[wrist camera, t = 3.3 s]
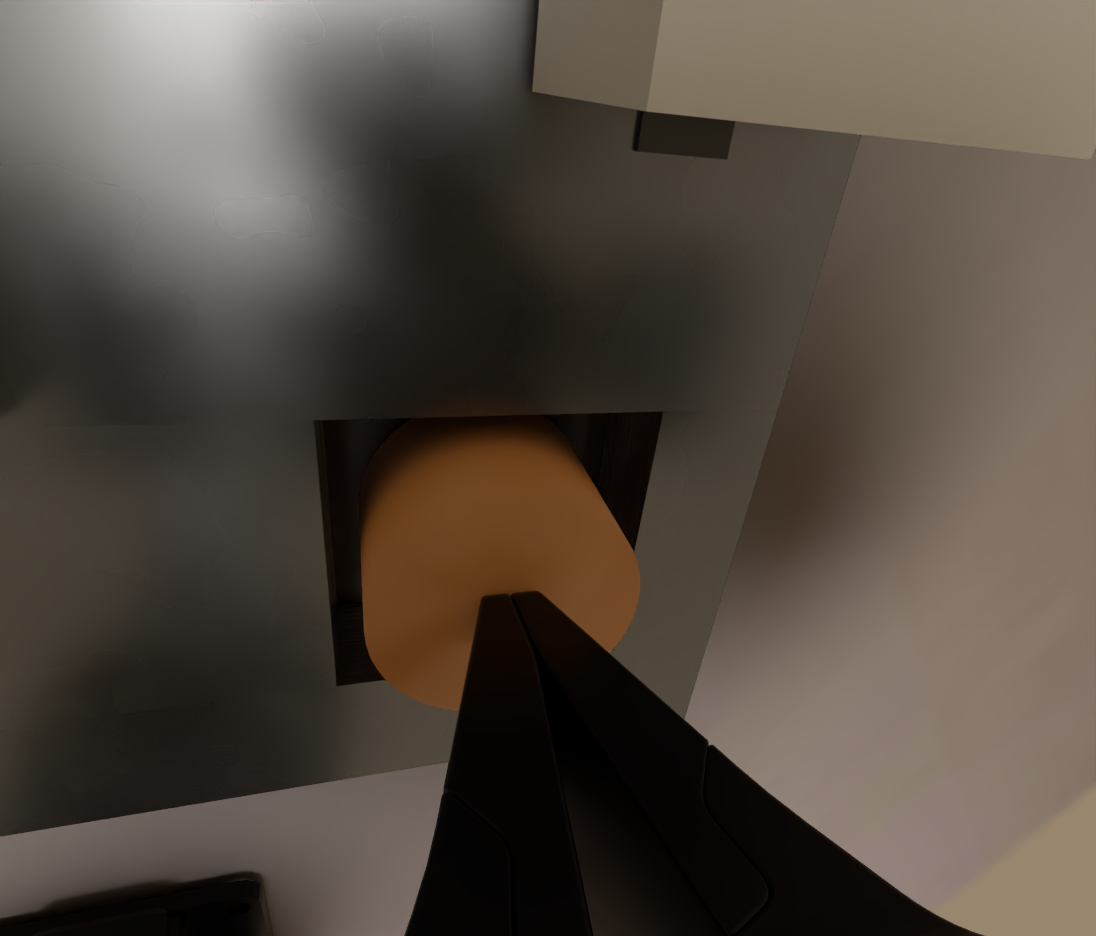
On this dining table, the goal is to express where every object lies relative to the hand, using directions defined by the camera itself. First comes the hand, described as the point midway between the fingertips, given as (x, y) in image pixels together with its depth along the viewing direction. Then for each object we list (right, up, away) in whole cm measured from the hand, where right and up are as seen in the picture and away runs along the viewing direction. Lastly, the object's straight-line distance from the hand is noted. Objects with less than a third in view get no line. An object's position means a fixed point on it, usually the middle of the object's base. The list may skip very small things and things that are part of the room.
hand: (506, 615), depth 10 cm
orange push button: (-1, +2, +2) cm, 3 cm away
